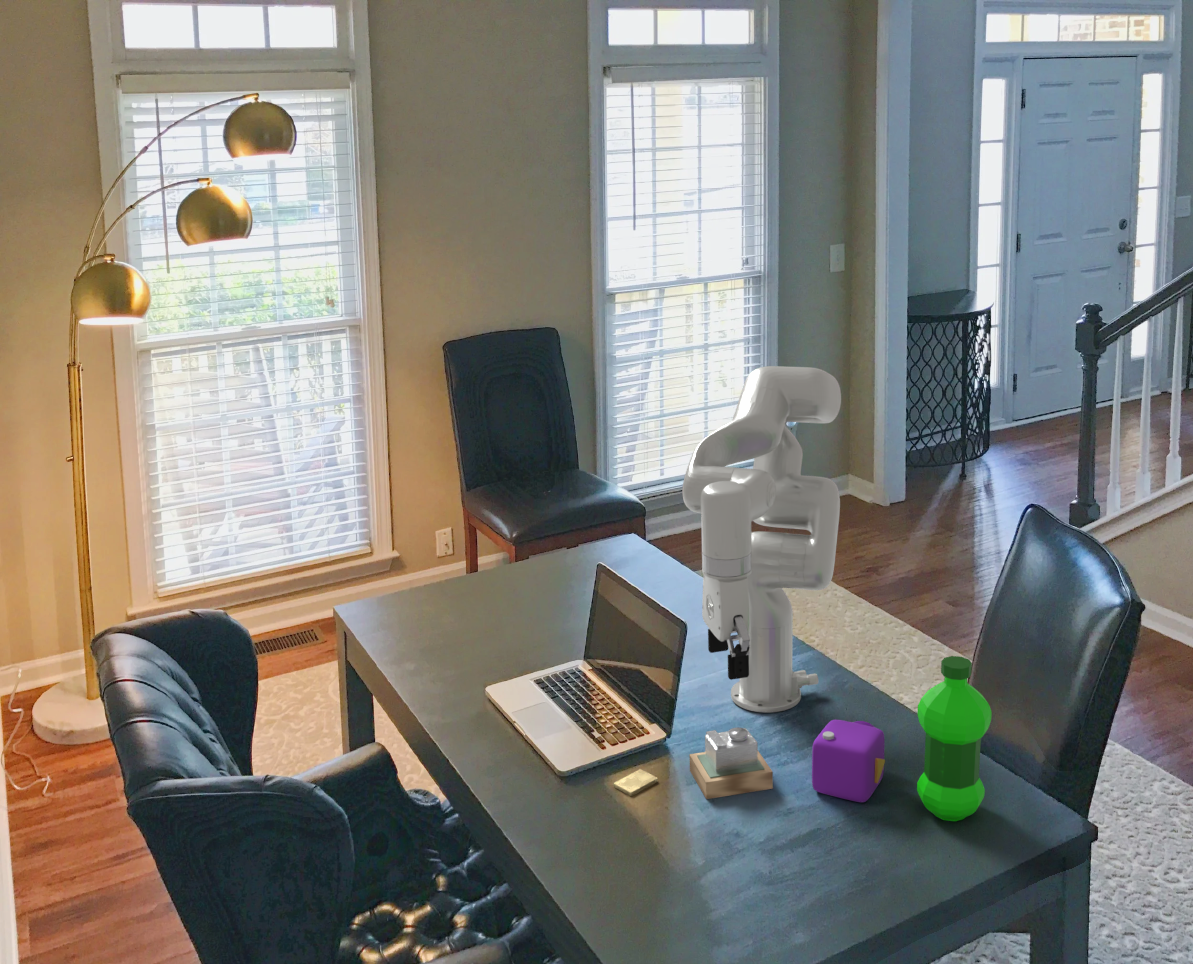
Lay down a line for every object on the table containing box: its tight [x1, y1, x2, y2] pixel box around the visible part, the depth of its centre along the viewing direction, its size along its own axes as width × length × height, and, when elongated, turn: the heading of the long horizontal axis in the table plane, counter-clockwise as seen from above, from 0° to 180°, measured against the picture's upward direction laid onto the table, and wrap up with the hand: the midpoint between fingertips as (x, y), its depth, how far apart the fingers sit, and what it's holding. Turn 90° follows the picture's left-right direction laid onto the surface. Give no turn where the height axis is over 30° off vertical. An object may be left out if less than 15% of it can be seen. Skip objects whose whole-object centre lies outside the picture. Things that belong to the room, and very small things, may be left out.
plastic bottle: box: [916, 655, 993, 822], centre depth 190 cm, size 10×10×25 cm
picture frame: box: [689, 750, 774, 800], centre depth 205 cm, size 11×9×3 cm
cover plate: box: [613, 768, 659, 797], centre depth 205 cm, size 6×4×1 cm, turn 132°
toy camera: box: [811, 719, 886, 803], centre depth 202 cm, size 11×14×10 cm
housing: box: [704, 727, 759, 773], centre depth 204 cm, size 7×5×5 cm
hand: (728, 664), depth 199 cm, fingers open, 9 cm apart
